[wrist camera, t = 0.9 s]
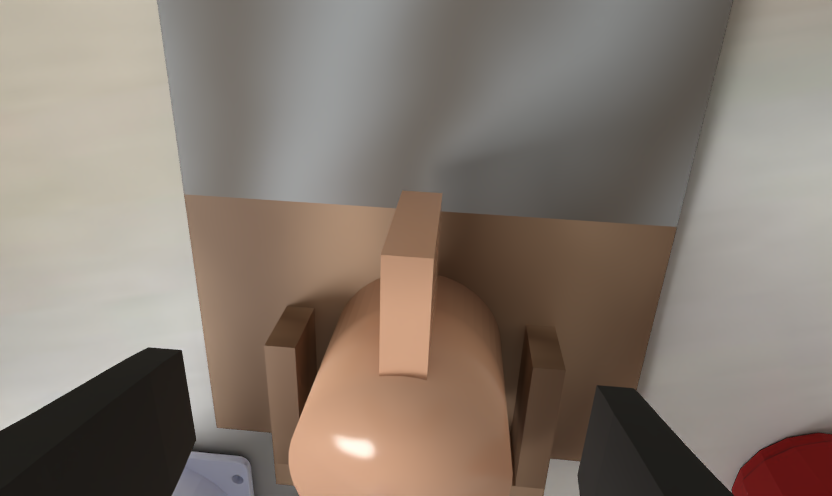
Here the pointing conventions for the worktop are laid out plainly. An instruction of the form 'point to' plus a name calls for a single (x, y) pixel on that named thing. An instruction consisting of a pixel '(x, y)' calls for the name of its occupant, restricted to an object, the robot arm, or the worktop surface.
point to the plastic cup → (789, 469)
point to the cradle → (437, 183)
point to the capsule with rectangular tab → (408, 382)
